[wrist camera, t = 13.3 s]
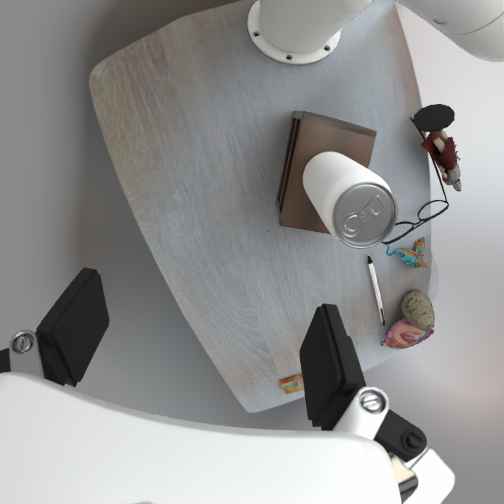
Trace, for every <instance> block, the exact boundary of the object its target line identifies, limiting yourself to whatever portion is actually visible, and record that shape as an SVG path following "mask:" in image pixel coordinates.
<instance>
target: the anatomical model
mask: <svg viewBox="0 0 504 504" xmlns="http://www.w3.org/2000/svg"><path fill="white" fill-rule="evenodd" d="M433 327H434V325H433ZM433 327H432V328H433ZM433 333H434V330H432V329H431V330H429V331H422V330H419V329H417V328H416V327H414V326H413V325H412V324H411V323H410V322H409V321H408V320H407V319H406V318H405V319H402V320H400V321H398V322H396V323H395V324H394V325H393V326H392V327H391V328H390V330H389V331H387V333H386V335H385V336H386V340H384V341H382V342H381V345H382V346H388V347H391V348H395V349H404V348H408V347H411V346H413V345H415V344H418V343H420V342H421V341H423V340H425V339H427V338H428V337H429V336H430V335H431V334H433Z"/></svg>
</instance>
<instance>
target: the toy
mask: <svg viewBox="0 0 504 504" xmlns="http://www.w3.org/2000/svg"><path fill="white" fill-rule="evenodd" d="M279 384H280V386H281V388H282V389H283V390H284V391H285V393H286V394H289V393H292V392H296V391H300V390H303V389H304V384H303V376H302V374H300V375H297V376H294V377H290V378H287V379H283V380H280V381H279Z"/></svg>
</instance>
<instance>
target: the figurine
mask: <svg viewBox="0 0 504 504" xmlns="http://www.w3.org/2000/svg"><path fill="white" fill-rule="evenodd" d="M454 114H455V113H454V111H453V110H452V109H451V108H450V107H449V106H446V105H442V104H436V105H429V106H427V107H425V108H422V109H420V110H419V111H418V112H417V113H416V114H415V115H414V119H413V123H414V125H415V126H416V128H417V129H419V130H422V131H425V132H430V134H429V135H428V137H427V139H426V140H425V141H424V142H422V143H421V146H422V147H424V148H425V149H426V150H427V151H428V152H429V153H430V155H431V156H432V158H433V159H434V161H435V162H436V164H437V165H438V167H439V169H440V171H441V173H442V179H443V181H444V182H445V183H446V184H447V185H453V187H454V189H455V190H456V191H461V183H460V179H459V177H460V170H459V166H458V164H457V158H458V159H459V160H460V158H459V157H458V156H457V155H456V153H457V152H458V151H456V153H455V147H456V145H455V144H454V142H453V138H452V137H447V135H446V133H445V132H444V131H443V130H442V129H444V128H446V127H448V126H449V125H450V124H451V123H452V122H453V121H454Z"/></svg>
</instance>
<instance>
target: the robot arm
mask: <svg viewBox="0 0 504 504" xmlns="http://www.w3.org/2000/svg"><path fill="white" fill-rule="evenodd" d="M372 1H373V0H257V1H256V2H255V3H254V4H253V6H252V8H251V9H250V12H249V15H248V21H247V25H248V31H249V34H250V37H251V39H252V40H253V42H254V44H255V45H256V46H257V47H258V48H259V49H260V50H261V51H262V52H263V53H264V54H266V55H268V56H269V57H271V58H273V59H275V60H278V61H280V62H284V63H288V64H297V65H301V64H310V63H314V62H317V61H319V60H321V59H323V58H325V57H326V56H328V55H329V54H330V53H331V52H332V51H333V50H334V49H335V47H336V46H337V44H338V42H339V39H340V34H341V29H342V28H343V27H344V26H345V25H347V24H348V23H349V22H350V21H352V20H353V19H354V18H355V17H357V16H358V15H359V14H360V13H361V12H363V11H364V10H365V9H366V8H367V7H368V6H369V5H370V4H371V2H372ZM395 1H397V2H399V3H400V4H402V5H403V6H405V7H407V8H408V9H410V10H411V11H412V12H414V13H416V14H417V15H419V16H420V17H421V18H423V19H424V20H425V21H427V22H428V23H430V24H431V25H432V26H433V27H435V28H436V29H437V30H439V31H440V32H442V33H443V34H444V35H445V36H446V37H448V38H449V39H450V40H451V41H453V42H454V43H455V44H456V45H458V46H459V47H461V48H462V49H463V50H464V51H466V52H468V53H469V54H471V55H473V56H475V57H477V58H479V59H482V60H486V61H490V62H503V61H504V0H395ZM255 34H258V36H257V37H256V36H254V35H255ZM324 48H326V49H327V51H326V50H325V49H324ZM287 57H290V60H288V59H287ZM108 326H109V316H108V311H107V307H106V302H105V297H104V292H103V287H102V281H101V276H100V274H98V272H97V270H95V269H90V268H83V269H82V270H81V271H80V273H79V274H78V275H77V276H76V277H75V279H74V280H73V281H72V282H71V284H70V285H69V286H68V287H67V289H66V290H65V291H64V292H63V294H62V295H61V296H60V298H59V299H58V300H57V301H56V303H55V304H54V305H53V307H52V308H51V309H50V311H49V312H48V313H47V315H46V316H45V317H44V319H43V320H42V322H41V323H40V325H39V326H38V327H37V331H36V332H35V333H34V332H32V331H30V330H21V331H19V332H17V333H16V334H14V335H13V337H12V338H11V340H10V343H9V348H7V349H4V350H1V351H0V504H441V502H442V501H443V500H444V498H445V497H446V496H447V495H448V494H449V492H450V491H451V490H452V488H453V486H454V484H455V476H454V474H453V472H452V471H451V470H450V468H449V467H448V466H447V465H446V464H445V463H444V462H443V461H442V459H441V458H440V457H439V456H438V455H437V454H436V453H435V452H434V451H433V449H432V448H429V449H428V448H427V447H426V445H427V444H426V442H427V440H426V437H425V434H424V433H423V432H422V431H421V430H420V429H419V428H418V427H416V426H414V425H413V424H411V423H410V422H408V421H407V420H405V419H403V418H402V417H400V416H399V415H397V414H396V413H394V412H393V411H391V410H390V409H389V399H388V397H387V395H386V394H385V393H384V392H383V391H382V390H381V389H379V388H377V387H374V386H366V383H365V380H364V376H363V373H362V370H361V367H360V364H359V360H358V357H357V354H356V351H355V348H354V345H353V342H352V339H351V337H349V336H347V334H346V331H345V328H344V325H343V322H342V319H341V316H340V313H339V311H338V308H337V306H336V305H332V304H322V305H321V307H317V309H316V312H315V314H314V317H313V319H312V322H311V324H310V327H309V329H308V331H307V334H306V336H305V339H304V341H303V343H302V346H301V348H300V362H301V369H302V376H303V384H304V391H305V399H306V407H307V414H308V419H309V420H312V425H313V427H318V426H319V427H320V426H321V429H322V431H307V430H305V431H304V430H303V431H302V430H301V431H300V430H294V431H293V430H267V429H251V428H239V427H228V426H220V425H212V424H204V423H198V422H192V421H186V420H180V419H175V418H170V417H165V416H160V415H155V414H152V413H147V412H143V411H139V410H135V409H131V408H128V407H124V406H121V405H117V404H114V403H110V402H107V401H104V400H101V399H98V398H95V397H92V396H89V395H87V394H84V393H81V392H78V391H75V390H73V389H70V388H67V387H65V386H64V385H65V384H68V385H70V386H73V387H76V384H77V382H80V381H81V380H82V378H83V376H84V374H85V372H86V369H87V367H88V365H89V363H90V361H91V359H92V357H93V355H94V353H95V351H96V349H97V347H98V345H99V343H100V341H101V339H102V337H103V335H104V333H105V331H106V330H107V328H108Z"/></svg>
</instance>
